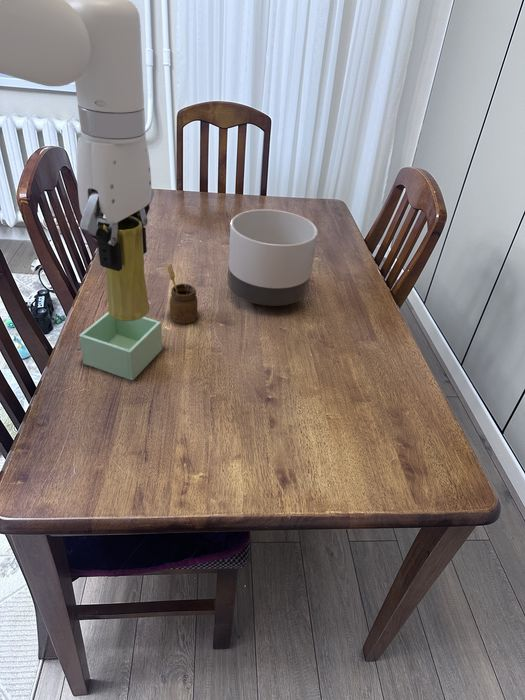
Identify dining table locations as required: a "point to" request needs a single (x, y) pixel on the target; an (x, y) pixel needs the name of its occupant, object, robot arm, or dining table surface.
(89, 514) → the dining table surface
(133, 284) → the vase
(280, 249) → the planter
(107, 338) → the bin
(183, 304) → the utensil holder
